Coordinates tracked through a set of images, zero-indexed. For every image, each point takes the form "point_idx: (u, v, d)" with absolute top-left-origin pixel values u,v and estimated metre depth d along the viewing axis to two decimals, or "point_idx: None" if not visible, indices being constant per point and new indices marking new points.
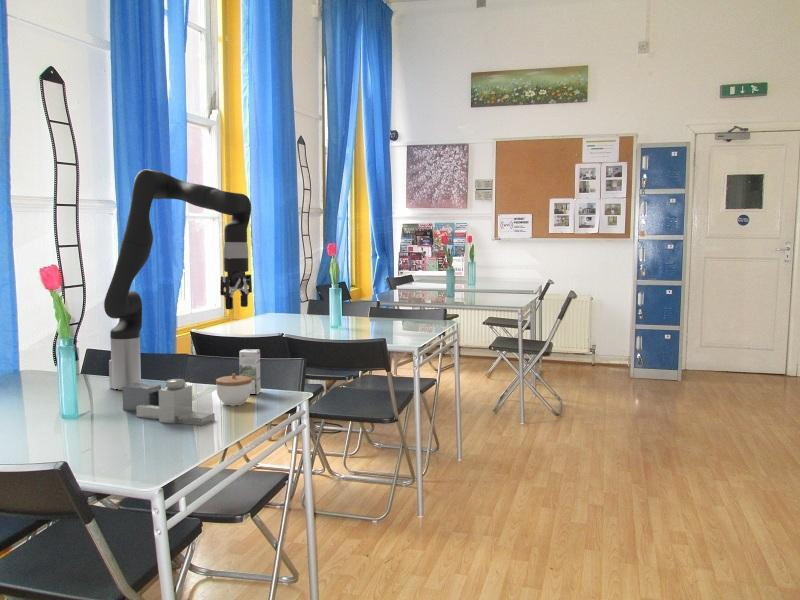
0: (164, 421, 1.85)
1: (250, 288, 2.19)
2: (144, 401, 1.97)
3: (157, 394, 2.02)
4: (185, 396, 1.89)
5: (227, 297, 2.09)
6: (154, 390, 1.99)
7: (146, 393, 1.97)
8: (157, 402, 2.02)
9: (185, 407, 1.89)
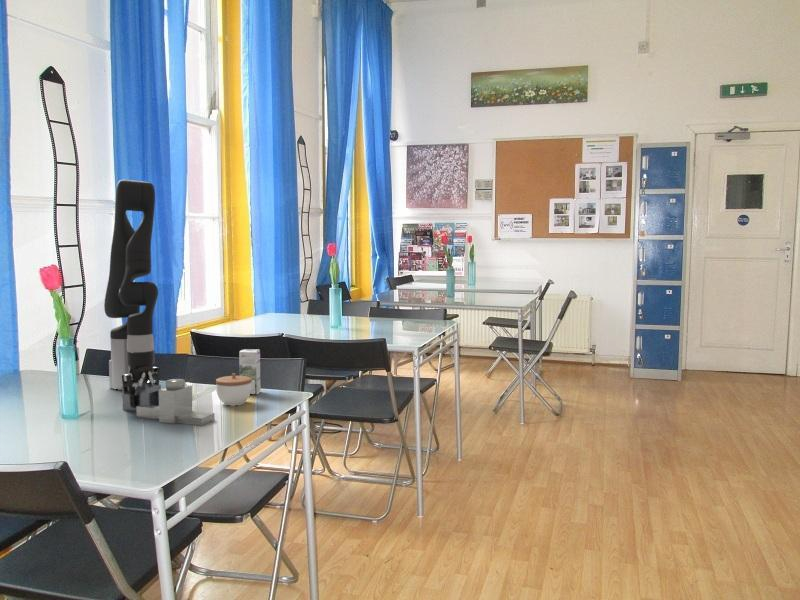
0: (164, 421, 1.85)
1: (157, 382, 2.05)
2: (144, 401, 1.97)
3: (157, 394, 2.02)
4: (185, 396, 1.89)
5: (131, 395, 1.97)
6: (154, 390, 1.99)
7: (146, 393, 1.97)
8: (157, 402, 2.02)
9: (185, 407, 1.89)
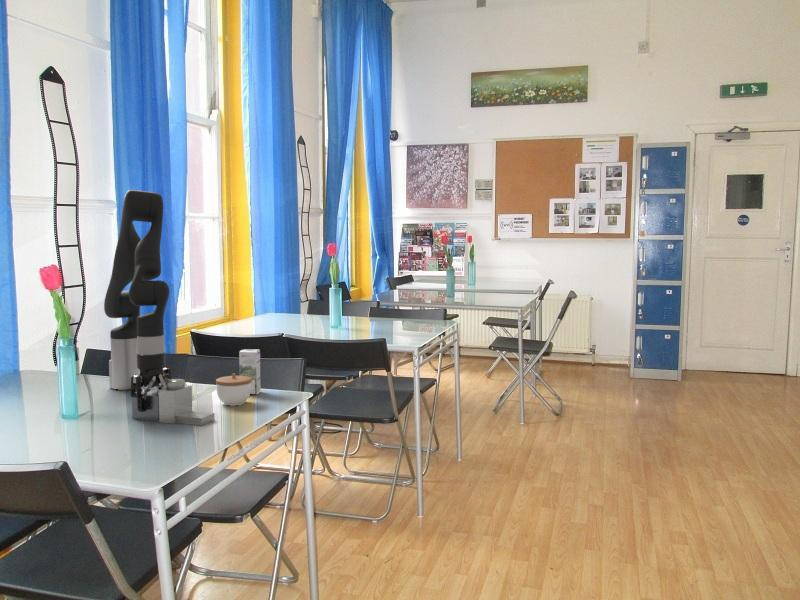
0: (164, 421, 1.85)
1: None
2: (155, 409, 1.87)
3: None
4: (185, 396, 1.89)
5: (139, 399, 1.86)
6: None
7: (156, 401, 1.87)
8: None
9: (185, 407, 1.89)
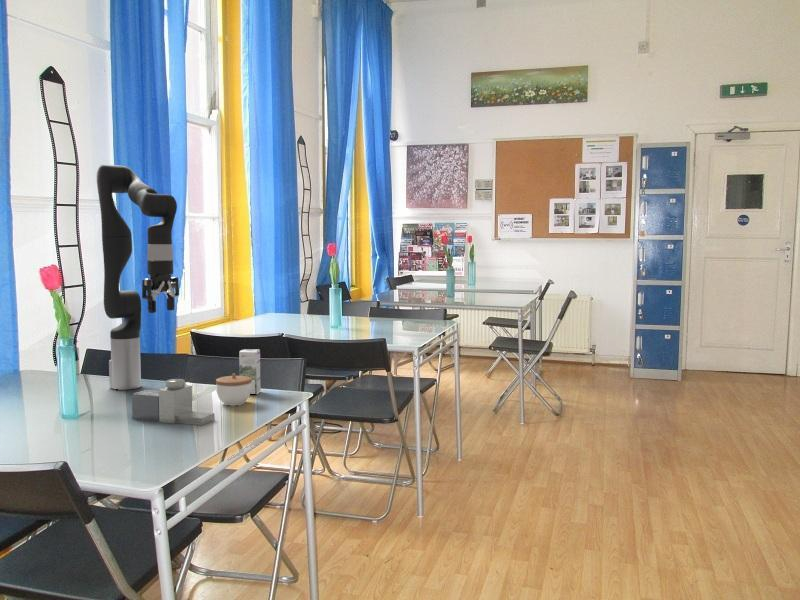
0: (164, 421, 1.85)
1: (177, 291, 2.15)
2: (155, 409, 1.87)
3: None
4: (185, 396, 1.89)
5: (149, 300, 2.04)
6: None
7: (156, 401, 1.87)
8: None
9: (185, 407, 1.89)
